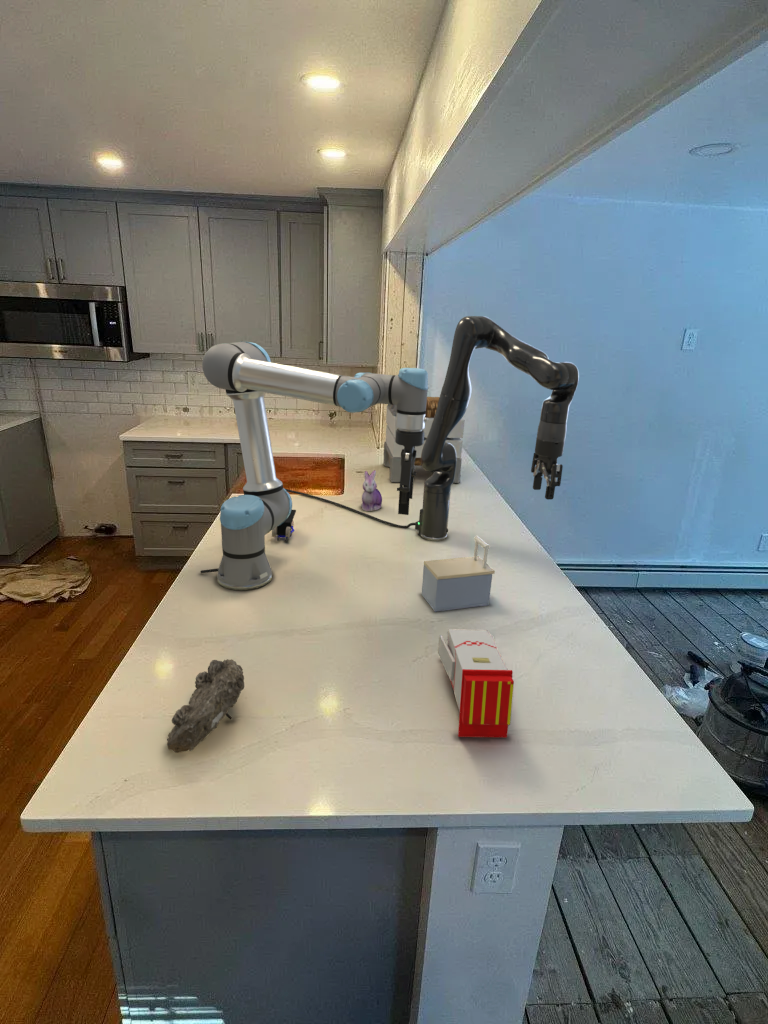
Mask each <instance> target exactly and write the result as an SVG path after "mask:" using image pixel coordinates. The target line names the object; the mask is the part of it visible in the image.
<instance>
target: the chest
mask: <svg viewBox="0 0 768 1024" xmlns="http://www.w3.org/2000/svg"><path fill="white" fill-rule="evenodd" d="M492 580H493V574H487V575H478V576H468V577H458V578H449V579H439V580H437V579H436V577H435V576H434V575H433V574H432V573H431V572H430V570H429V569H428V568H427V567H426V566H425V565H424V564H423V572H422V583H421V584H422V585H421V596H422V597H423V599H424V600H425V601H426V602H427V604H428V605H429V606H430V608H431V609H432V610H433V612H436V613H437V612H444V611H451V610H459V609H467V608H468V609H469V608H477V607H485V606H486V607H487V606H489V605H490V599H491V589H492V582H493V581H492Z"/></svg>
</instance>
